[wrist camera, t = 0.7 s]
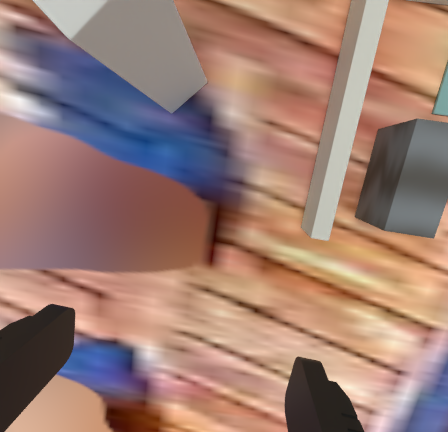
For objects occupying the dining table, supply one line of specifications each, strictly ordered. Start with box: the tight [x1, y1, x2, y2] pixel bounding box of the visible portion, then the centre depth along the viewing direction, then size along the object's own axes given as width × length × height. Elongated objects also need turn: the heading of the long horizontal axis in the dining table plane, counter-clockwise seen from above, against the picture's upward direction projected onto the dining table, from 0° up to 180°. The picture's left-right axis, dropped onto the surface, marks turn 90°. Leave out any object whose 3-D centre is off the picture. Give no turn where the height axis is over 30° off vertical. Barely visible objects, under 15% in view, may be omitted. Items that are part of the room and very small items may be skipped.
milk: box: [33, 0, 208, 114], centre depth 20 cm, size 6×6×22 cm
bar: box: [355, 119, 448, 238], centre depth 27 cm, size 11×5×7 cm, turn 171°
